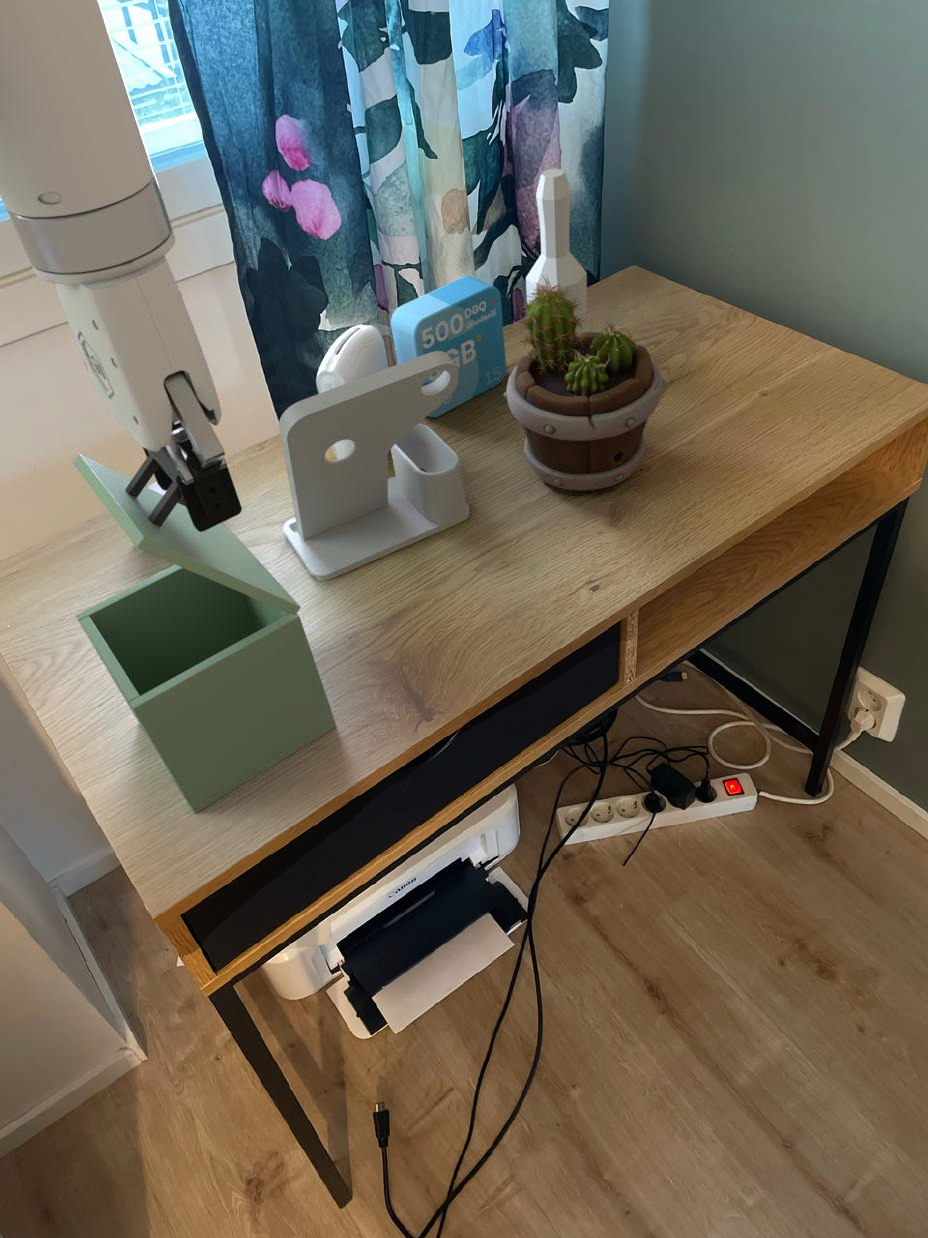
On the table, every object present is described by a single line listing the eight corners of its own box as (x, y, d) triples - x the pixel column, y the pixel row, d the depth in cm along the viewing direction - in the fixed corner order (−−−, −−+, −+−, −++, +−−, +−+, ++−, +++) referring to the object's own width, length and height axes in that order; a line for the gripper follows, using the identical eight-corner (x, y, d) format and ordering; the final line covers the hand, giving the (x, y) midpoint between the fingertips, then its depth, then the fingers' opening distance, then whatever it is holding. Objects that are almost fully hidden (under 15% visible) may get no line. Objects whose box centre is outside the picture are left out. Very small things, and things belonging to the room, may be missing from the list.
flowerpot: (683, 447, 93) (699, 259, 79) (607, 531, 85) (610, 338, 71) (564, 411, 100) (559, 231, 86) (484, 485, 92) (464, 301, 78)
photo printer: (366, 469, 96) (343, 366, 87) (330, 464, 98) (304, 362, 89) (403, 416, 103) (385, 315, 94) (369, 412, 104) (348, 312, 95)
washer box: (195, 814, 68) (132, 709, 59) (138, 721, 75) (74, 614, 66) (337, 726, 72) (299, 616, 63) (270, 647, 79) (228, 537, 70)
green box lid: (136, 548, 52) (188, 472, 52) (71, 462, 59) (116, 395, 59) (295, 616, 63) (340, 554, 62) (224, 536, 70) (263, 480, 69)
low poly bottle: (557, 347, 110) (551, 156, 94) (597, 363, 106) (597, 168, 90) (521, 369, 107) (508, 177, 91) (560, 387, 103) (554, 189, 88)
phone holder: (431, 466, 95) (406, 307, 82) (478, 515, 89) (459, 351, 76) (280, 529, 91) (229, 370, 78) (318, 586, 84) (269, 422, 71)
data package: (427, 423, 101) (412, 324, 93) (404, 408, 104) (387, 310, 95) (508, 379, 106) (500, 282, 97) (483, 366, 108) (474, 270, 100)
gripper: (-20, 206, 51) (103, 468, 64) (80, 302, 40) (202, 592, 53) (106, 167, 53) (199, 426, 66) (229, 248, 43) (311, 536, 56)
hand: (199, 497), depth 60 cm, fingers closed on green box lid, 5 cm apart
